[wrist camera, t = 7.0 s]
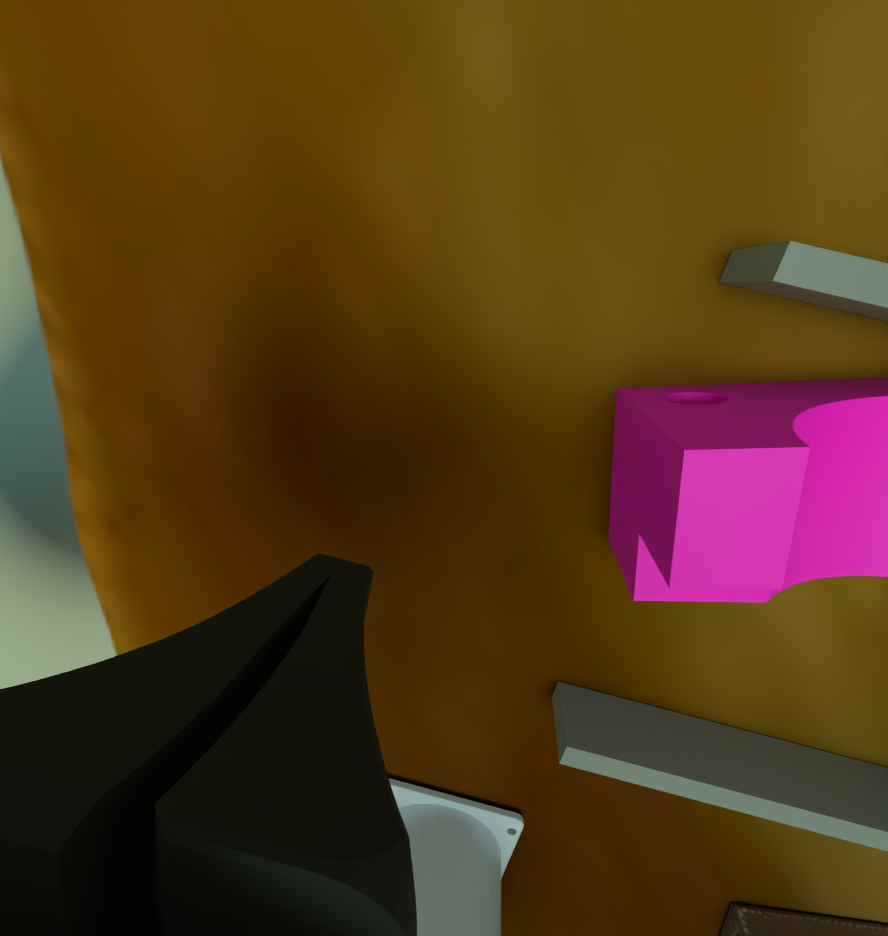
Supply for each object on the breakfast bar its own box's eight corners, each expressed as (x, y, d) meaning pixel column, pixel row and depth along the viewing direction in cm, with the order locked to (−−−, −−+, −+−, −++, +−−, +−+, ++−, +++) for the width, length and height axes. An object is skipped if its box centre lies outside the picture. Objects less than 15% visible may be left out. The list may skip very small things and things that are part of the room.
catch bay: (905, 790, 23) (972, 874, 20) (551, 696, 23) (559, 763, 20) (1257, 373, 16) (1458, 396, 12) (732, 250, 16) (790, 241, 13)
